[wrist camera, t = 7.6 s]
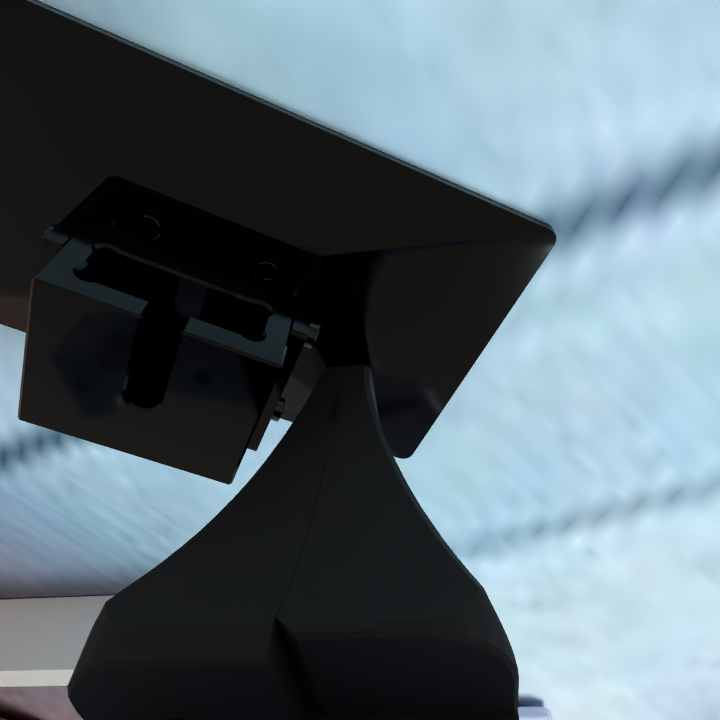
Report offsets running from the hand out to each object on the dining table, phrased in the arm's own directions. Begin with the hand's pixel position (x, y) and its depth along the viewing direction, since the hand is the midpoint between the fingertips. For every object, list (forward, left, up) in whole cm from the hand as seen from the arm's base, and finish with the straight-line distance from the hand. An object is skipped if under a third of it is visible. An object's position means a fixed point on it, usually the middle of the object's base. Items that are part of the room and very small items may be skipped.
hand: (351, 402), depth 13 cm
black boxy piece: (+3, +3, -2) cm, 4 cm away
